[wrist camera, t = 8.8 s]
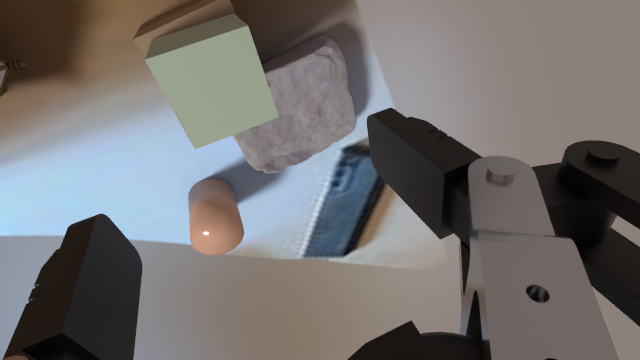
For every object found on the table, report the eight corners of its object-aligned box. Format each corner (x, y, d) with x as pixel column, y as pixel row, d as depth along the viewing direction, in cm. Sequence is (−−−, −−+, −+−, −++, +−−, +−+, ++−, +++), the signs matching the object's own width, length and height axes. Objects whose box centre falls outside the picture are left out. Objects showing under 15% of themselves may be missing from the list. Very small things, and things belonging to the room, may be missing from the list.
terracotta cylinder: (180, 188, 31) (180, 228, 26) (224, 171, 31) (233, 207, 27) (199, 220, 33) (203, 262, 29) (240, 204, 34) (250, 242, 29)
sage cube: (151, 39, 19) (144, 59, 15) (233, 13, 19) (248, 25, 15) (191, 116, 22) (195, 149, 18) (261, 90, 22) (279, 117, 18)
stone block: (347, 109, 35) (323, 20, 27) (368, 134, 32) (348, 43, 24) (249, 159, 34) (196, 84, 27) (261, 190, 31) (205, 115, 24)
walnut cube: (141, 24, 23) (132, 39, 18) (217, -11, 23) (227, -5, 19) (189, 97, 27) (192, 126, 22) (254, 66, 27) (270, 87, 22)
